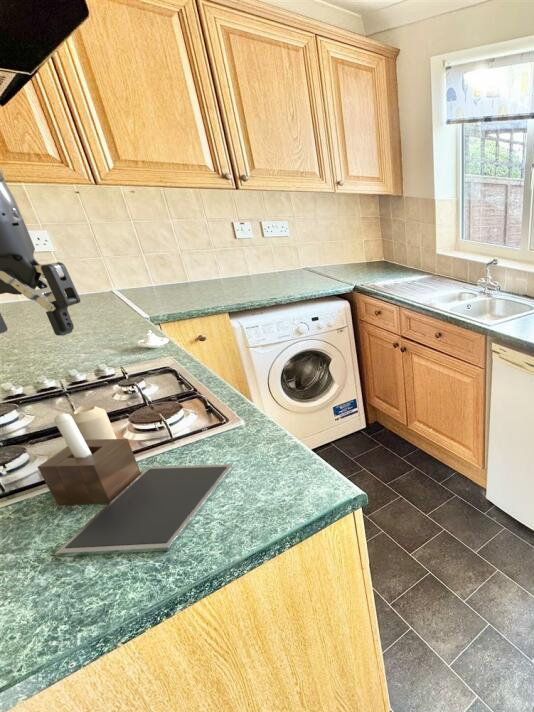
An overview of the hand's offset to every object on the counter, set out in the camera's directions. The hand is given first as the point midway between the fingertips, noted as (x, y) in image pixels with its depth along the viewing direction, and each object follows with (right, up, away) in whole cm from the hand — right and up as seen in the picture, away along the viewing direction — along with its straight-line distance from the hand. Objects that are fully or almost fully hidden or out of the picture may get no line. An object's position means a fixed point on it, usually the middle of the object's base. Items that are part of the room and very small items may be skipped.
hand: (32, 333), depth 62 cm
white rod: (-2, -26, +12) cm, 29 cm away
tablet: (+11, -28, +9) cm, 32 cm away
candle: (-11, -21, +22) cm, 33 cm away
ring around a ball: (-44, +4, +73) cm, 85 cm away
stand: (-2, -26, +12) cm, 29 cm away
